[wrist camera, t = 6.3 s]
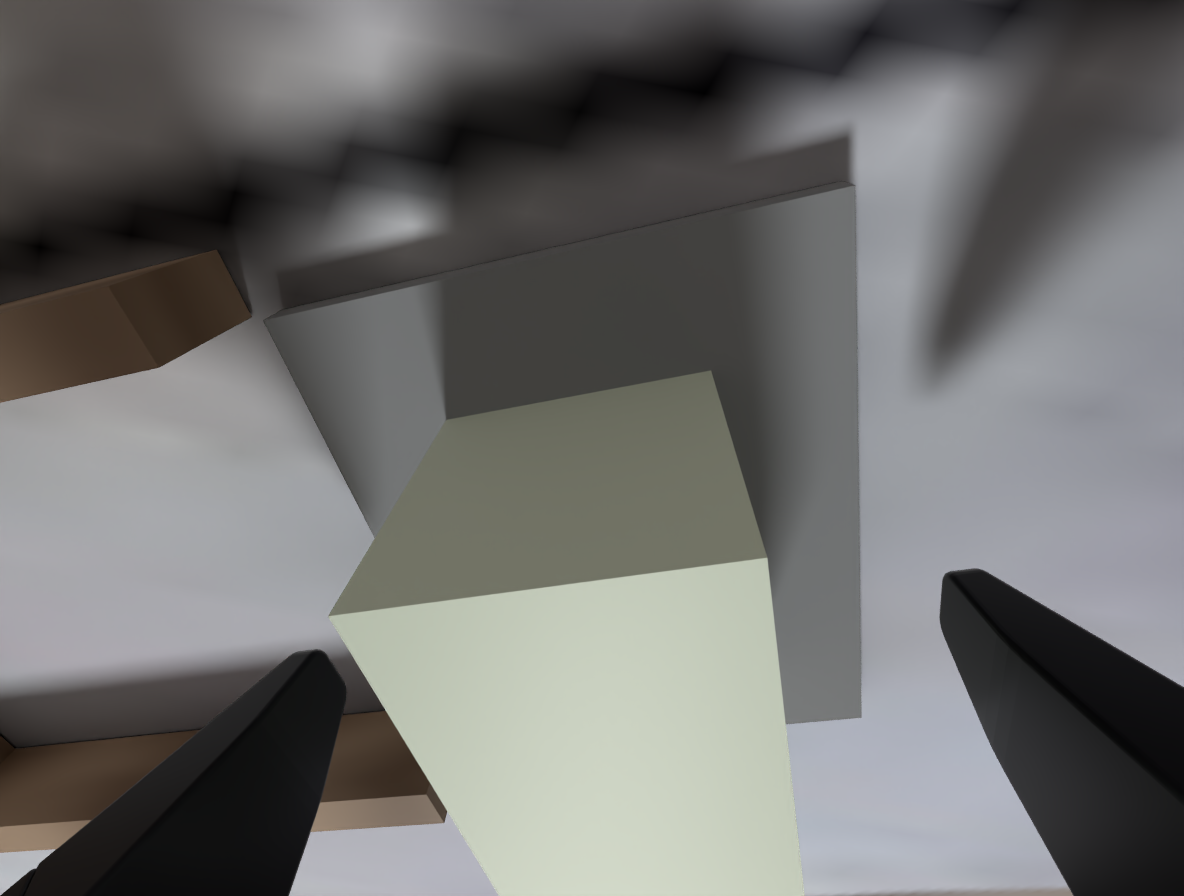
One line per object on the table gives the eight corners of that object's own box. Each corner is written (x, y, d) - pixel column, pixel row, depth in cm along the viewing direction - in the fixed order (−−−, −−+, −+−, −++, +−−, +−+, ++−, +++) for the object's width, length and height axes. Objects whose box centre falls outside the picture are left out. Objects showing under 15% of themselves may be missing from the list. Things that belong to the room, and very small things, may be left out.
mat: (842, 181, 7) (855, 185, 7) (853, 696, 12) (861, 717, 12) (281, 310, 9) (263, 320, 8) (488, 729, 13) (483, 750, 13)
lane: (216, 249, 8) (107, 286, 7) (467, 732, 14) (444, 822, 12) (-418, 410, 10) (-626, 470, 9) (10, 774, 16) (-67, 857, 14)
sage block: (710, 370, 8) (767, 557, 5) (752, 660, 11) (806, 908, 8) (445, 419, 9) (328, 616, 5) (549, 681, 12) (514, 920, 8)
